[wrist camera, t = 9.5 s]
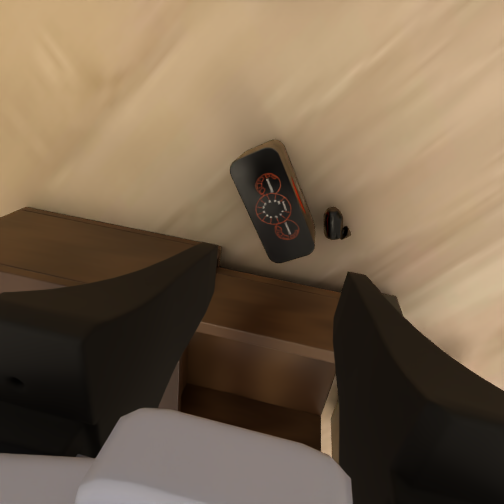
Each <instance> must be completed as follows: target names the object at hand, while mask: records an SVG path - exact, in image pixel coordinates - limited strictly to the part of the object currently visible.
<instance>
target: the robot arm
mask: <svg viewBox="0 0 504 504" xmlns="http://www.w3.org/2000/svg"><path fill="white" fill-rule="evenodd" d="M217 255H218V245H214V244H209V243H204V242H202V243H199V244H197V245H195V246H192V247H190V248H188V249H186V250H184V251H182V252H180V253H178V254H176V255H174V256H172V257H170V258H168V259H165V260H163V261H160V262H158V263H156V264H153V265H151V266H148V267H146V268H143V269H141V270H138V271H135V272H132V273H128V274H125V275H122V276H118V277H115V278H110V279H106V280H101V281H97V282H92V283H88V284H82V285H76V286H70V287H62V288H54V289H45V290H31V291H17V292H3V293H1V294H0V504H504V391H503V390H501V389H500V388H498V387H496V386H495V385H493V384H491V383H490V382H488V381H486V380H485V379H483V378H481V377H480V376H478V375H477V374H475V373H474V372H472V371H471V370H469V369H468V368H466V367H465V366H463V365H462V364H460V363H459V362H458V361H456V360H455V359H453V358H452V357H450V356H449V355H448V354H446V353H445V352H444V351H442V350H441V349H440V348H438V347H437V346H436V345H435V344H434V343H432V342H431V341H430V340H429V339H427V338H426V337H425V336H424V335H423V334H422V333H420V332H419V331H418V330H417V329H416V328H415V327H414V326H413V325H412V324H411V323H410V322H409V321H408V320H407V319H405V318H404V317H403V316H402V315H401V314H400V313H399V311H398V310H397V309H396V308H395V307H394V306H393V305H392V304H391V303H390V302H389V301H388V300H387V299H386V297H385V296H384V295H383V294H382V293H381V292H380V291H379V289H378V288H377V287H376V286H375V285H374V284H373V283H372V281H371V280H370V279H369V278H368V277H367V276H366V275H363V274H358V273H353V272H347V276H346V279H345V282H344V285H343V289H342V292H341V295H340V298H339V301H338V305H337V308H336V311H335V314H334V320H333V349H334V359H335V369H336V378H337V387H338V397H339V465H338V464H337V463H336V462H335V460H334V459H333V458H331V457H330V456H329V455H327V454H325V453H323V452H320V451H318V450H316V449H314V448H311V447H309V446H307V445H305V444H302V443H299V442H295V441H291V440H287V439H283V438H279V437H275V436H272V435H268V434H264V433H260V432H256V431H252V430H248V429H245V428H241V427H237V426H233V425H229V424H225V423H221V422H217V421H214V420H210V419H206V418H202V417H198V416H194V415H190V414H187V413H183V412H179V411H175V410H171V409H158V407H159V404H160V402H161V399H162V397H163V395H164V392H165V390H166V388H167V385H168V383H169V381H170V378H171V376H172V374H173V371H174V369H175V367H176V365H177V363H178V361H179V359H180V357H181V356H182V354H183V352H184V350H185V349H186V347H187V345H188V343H189V342H190V340H191V338H192V336H193V335H194V333H195V331H196V329H197V328H198V326H199V324H200V322H201V321H202V319H203V317H204V315H205V313H206V311H207V309H208V306H209V304H210V301H211V299H212V296H213V293H214V289H215V278H216V267H217Z"/></svg>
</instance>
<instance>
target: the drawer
mask: <svg viewBox="0 0 504 504" xmlns="http://www.w3.org/2000/svg"><path fill="white" fill-rule="evenodd" d="M382 294H383V293H382ZM340 295H341V293H340V292H335V291H330V290H325V289H320V288H316V287H311V286H306V285H301V284H297V283H292V282H287V281H282V280H277V279H273V278H268V277H263V276H258V275H253V274H249V273H244V272H239V271H234V270H230V269H225V268H220V267H216V278H215V289H214V293H213V296H212V299H211V301H210V304H209V306H208V309H207V311H206V313H205V315H204V317H203V319H202V321H201V322H200V324H199V326H198V328H197V329H196V331H195V333H194V335H193V336H192V338H191V340H190V342H189V343H188V345H187V347H186V349H185V350H184V352H183V365H182V390H181V412H183V413H187V414H190V415H194V416H198V417H202V418H206V419H210V420H214V421H217V422H221V423H225V424H229V425H233V426H237V427H241V428H245V429H248V430H252V431H256V432H260V433H264V434H268V435H272V436H275V437H279V438H283V439H287V440H291V441H295V442H299V443H302V444H305V445H307V446H309V447H311V448H314V449H316V450H318V451H320V452H321V414H322V411H323V408H324V405H325V402H326V399H327V397H328V394H329V391H330V388H331V385H332V382H333V379H334V377H335V374H336V369H335V359H334V349H333V320H334V314H335V311H336V308H337V305H338V301H339V298H340ZM383 295H384V296H385V297H386V299H387V300H388V301H389V302H390V303H391V304H392V305H393V306H394V307H395V308H396V309H397V310H398V311H399V313H400V314H401V315H402V316H403V314H402V311H401V308H400V306H399V303H398V300H397V297H396V296H393V295H388V294H383ZM331 440H332V458H333V459H334V460H335V462H336V463H337V464H338V465H339V398H338V401H337V404H336V407H335V409H334V412H333V415H332V417H331Z"/></svg>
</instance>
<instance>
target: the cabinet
mask: <svg viewBox="0 0 504 504" xmlns="http://www.w3.org/2000/svg"><path fill="white" fill-rule="evenodd" d="M199 243H202V242H197V241H192V240H187V239H182V238H177V237H172V236H167V235H162V234H157V233H152V232H147V231H142V230H137V229H132V228H127V227H122V226H117V225H113V224H108V223H103V222H98V221H93V220H88V219H83V218H78V217H73V216H68V215H63V214H58V213H53V212H48V211H43V210H38V209H33V208H28V207H25V208H22V209H20V210H17V211H15V212H13V213H10V214H8V215H5V216H3V217H0V294H1V293H3V292H17V291H31V290H45V289H54V288H62V287H70V286H76V285H82V284H88V283H92V282H97V281H101V280H106V279H110V278H115V277H118V276H122V275H125V274H128V273H132V272H135V271H138V270H141V269H143V268H146V267H148V266H151V265H153V264H156V263H158V262H160V261H163V260H165V259H168V258H170V257H172V256H174V255H176V254H178V253H180V252H182V251H184V250H186V249H188V248H190V247H192V246H195V245H197V244H199ZM220 257H221V246H218V255H217V267H220ZM182 365H183V354H182V356H181V357H180V359H179V361H178V363H177V365H176V367H175V369H174V371H173V374H172V376H171V378H170V381H169V383H168V385H167V388H166V390H165V392H164V395H163V397H162V399H161V402H160V404H159V407H158V409H171V410H175V411H179V412H181V390H182Z"/></svg>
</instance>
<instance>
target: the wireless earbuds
mask: <svg viewBox="0 0 504 504" xmlns="http://www.w3.org/2000/svg"><path fill="white" fill-rule="evenodd" d="M230 174H231V177H232V179H233V181H234V183H235V185H236V188H237V190H238V192H239V194H240V196H241V198H242V201H243V203H244V205H245V207H246V209H247V211H248V214H249V216H250V218H251V220H252V222H253V225H254V227H255V229H256V231H257V233H258V235H259V238H260V240H261V242H262V244H263V246H264V249H265V251H266V253H267V255H268V257H269V259H270V260H271V261H273V262H275V263H283V262H286V261H290V260H293V259H296V258H300V257H303V256H306V255H309V254H310V253H312V252H313V250H314V246H315V224H314V222H313V219H312V216H311V214H310V211H309V209H308V206H307V204H306V201H305V198H304V196H303V193H302V191H301V188H300V185H299V183H298V180H297V178H296V175H295V172H294V170H293V167H292V165H291V162H290V160H289V157H288V154H287V152H286V149H285V147H284V145H283V143H281V142H280V141H278V140H271V141H268V142H266V143H264V144H261V145H259V146H257V147H255V148H252V149H250V150H248V151H246V152H244V153H243V154H242V155H241V156H240V157H239V158H237V159H236V160H235V161H234V162H233V163H232V165H231V167H230ZM324 235H325V236H326V238H328V239H331V240H335V239H339V238H340V239H341V240H342V239H345V238H347V237H349V236H351V232H350V230H349V228H348V227H347V226H345V227H343V217H342V214H341V212H340V211H339V209H337V208H336V207H330V208H328V209H327V210H326V212H325V214H324Z"/></svg>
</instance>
